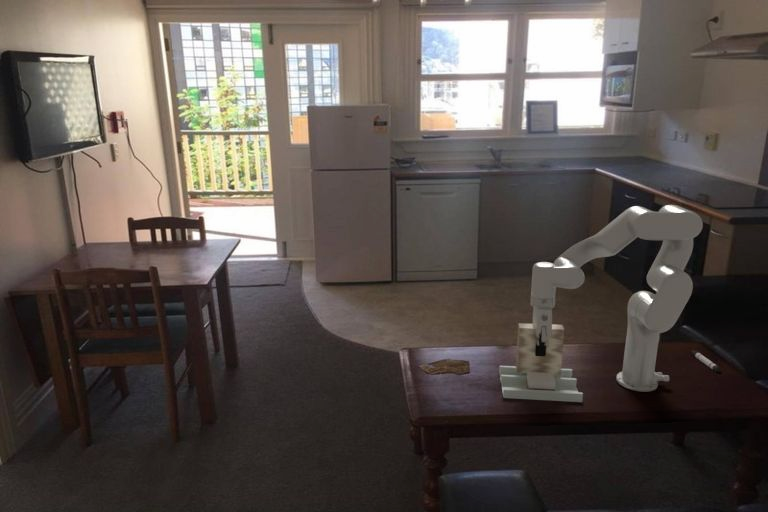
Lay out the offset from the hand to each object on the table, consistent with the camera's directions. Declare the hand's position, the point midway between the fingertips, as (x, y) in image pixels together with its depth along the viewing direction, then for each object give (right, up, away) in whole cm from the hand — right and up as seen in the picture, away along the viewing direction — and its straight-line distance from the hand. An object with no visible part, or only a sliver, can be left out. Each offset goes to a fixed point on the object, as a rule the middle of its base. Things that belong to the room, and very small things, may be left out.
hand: (539, 352), depth 182 cm
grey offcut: (-1, -9, -5) cm, 11 cm away
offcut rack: (-1, -12, -1) cm, 12 cm away
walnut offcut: (-1, -12, -5) cm, 13 cm away
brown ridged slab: (-26, -8, +14) cm, 31 cm away
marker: (+64, -7, +17) cm, 66 cm away
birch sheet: (0, -7, +2) cm, 7 cm away
